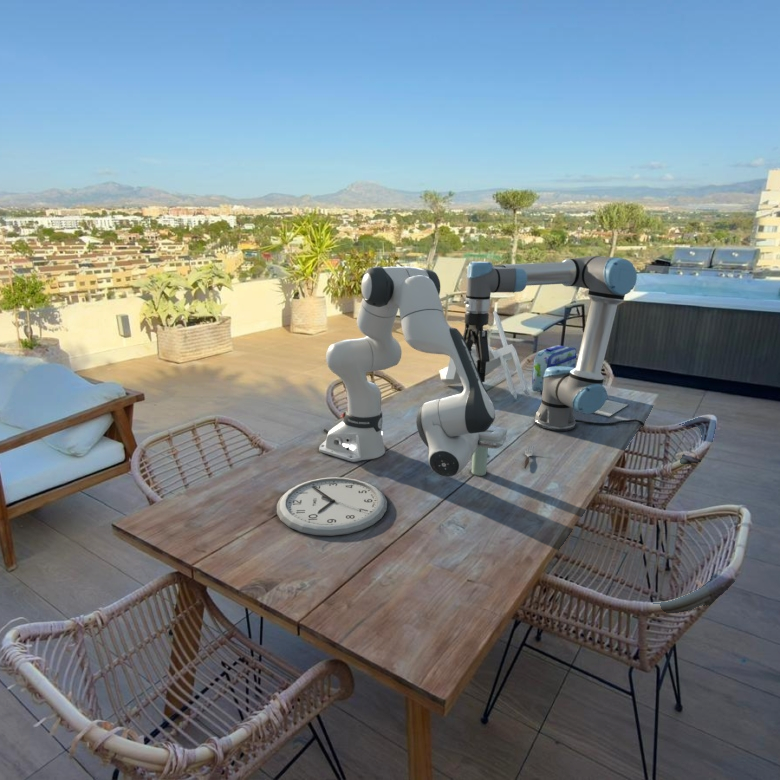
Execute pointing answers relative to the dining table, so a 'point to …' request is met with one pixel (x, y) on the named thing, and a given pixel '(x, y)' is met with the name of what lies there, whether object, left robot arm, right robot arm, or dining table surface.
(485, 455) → the light green cylinder
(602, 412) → the invitation card
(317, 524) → the wall clock
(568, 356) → the lunch box
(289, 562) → the dining table surface
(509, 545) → the dining table surface
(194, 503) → the dining table surface
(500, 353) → the white plastic object
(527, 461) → the fork
